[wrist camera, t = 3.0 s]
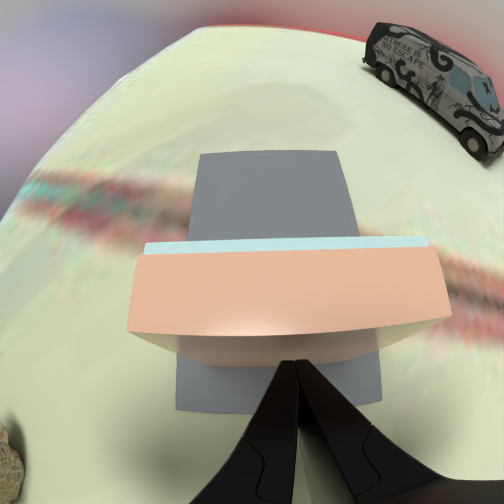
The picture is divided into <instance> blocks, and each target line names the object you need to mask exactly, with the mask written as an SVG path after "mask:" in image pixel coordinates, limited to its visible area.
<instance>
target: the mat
mask: <svg viewBox="0 0 504 504" xmlns="http://www.w3.org/2000/svg"><path fill="white" fill-rule="evenodd" d="M312 237H360V235H359V231H358V226H357V222H356V218H355V214H354V210H353V206H352V203H351V199H350V195H349V192H348V188H347V185H346V181H345V178H344V174H343V171H342V168H341V165H340V161H339V158H338V155H337V152H336V151H318V150H265V151H239V152H223V153H209V154H200V160H199V165H198V171H197V177H196V183H195V189H194V195H193V202H192V209H191V216H190V223H189V230H188V238H187V241H210V240H239V239H273V238H312ZM313 365H314V366H315V367H316V368H317V369H318V370H319V371H320V372H321V373H322V374H323V375H324V376H325V377H326V378H327V379H328V380H329V381H330V382H331V383H332V384H333V385H334V386H335V387H336V388H337V389H338V390H339V391H340V392H341V393H342V394H343V395H344V396H345V397H346V398H347V399H348V400H349V401H350V402H351V403H352V404H353V405H354V406H356V405H362V404H368V403H373V402H378V401H382V391H381V374H380V361H379V350H376V351H374V352H371V353H368V354H366V355H363V356H360V357H358V358H355V359H352V360H349V361H344V362H334V363H324V364H313ZM276 369H277V367H209V366H206V365H204V364H201V363H198V362H196V361H193V360H191V359H188V358H186V357H183V356H181V355H178V354H177V371H176V410H182V411H192V412H205V413H223V414H254V413H255V411H256V409H257V407H258V405H259V403H260V401H261V399H262V397H263V395H264V394H265V392H266V390H267V388H268V386H269V384H270V382H271V379H272V377H273V375H274V373H275V371H276Z"/></svg>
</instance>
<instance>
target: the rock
mask: <svg viewBox="0 0 504 504" xmlns="http://www.w3.org/2000/svg"><path fill="white" fill-rule="evenodd" d="M24 477H25V474H24V465H23V463H22V461H21V459H20V455H19V453H18V452H16V451H15V450H14V449H12V448H10V446H8V433H7V431H6V430H5V429H4V426H3V425H2V424H0V504H10V501H12V500H16V498H17V496H18V494H19V490H20V486H21V485H22V481H23V479H24Z"/></svg>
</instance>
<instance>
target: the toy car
mask: <svg viewBox="0 0 504 504" xmlns="http://www.w3.org/2000/svg"><path fill="white" fill-rule="evenodd" d="M362 60H363V63H365V62H366V63H367V64H368V65H369V66H371V67H372V68H377V69H376V78H378V79H379V80H380V81H382V82H383V83H384V84H386V85H387V86H389V87H391V88H395V87H396V86H397V84H398V85H400V86H401V87H403V88H404V89H406V90H407V91H409V92H410V93H412V94H413V95H415V96H416V97H417V98H419V99H420V100H421V101H423V102H424V103H426V104H427V105H428V106H429V107H431V108H432V109H433V110H435V111H436V112H437V113H438V114H440V115H441V116H442V117H443V118H444V119H446V120H447V121H448V122H449V123H450V124H452V125H453V126H454V127H455V128H456V129H457V130H458V131H460V132H461V131H463V130H465V131H464V132H463V133H462V134H461V138H460V144H461V145H462V147H463V148H464V149H465V150H466V151H467V152H468V153H469V154H470V155H471V156H472V157H473V158H475V159H476V160H481V159H483V158H484V157H485V155H486V153H487V150H488V155H487V158H488V159H489V160H490V161H492V160H493V159H495V158H496V157H498V156H499V155H500V154H502V153H503V152H504V110H503V109H501V107H500V106H499V103H498V100H497V96H496V93H495V89H494V86H493V82H492V79H491V78H490V76H488V75H487V74H486V73H485V72H484V71H483V70H481V69H480V68H479V67H478V66H477V65H476V64H474V63H473V62H472V61H471V60H469V59H468V58H466V57H465V56H463V55H462V54H460V53H459V52H457V51H455V50H454V49H452V48H450V47H448V46H447V45H445V44H444V43H442V42H440V41H438V40H436V39H434V38H433V37H430V36H429V35H426V34H425V33H422V32H420V31H418V30H416V29H414V28H411V27H407V26H401V25H397V24H391V23H382V22H378V23H376V25H375V27H374V28H373V30H372V32H371V34H370V36H369V38H368V40H367V42H366V50H365V58H362Z"/></svg>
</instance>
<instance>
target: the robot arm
mask: <svg viewBox="0 0 504 504" xmlns="http://www.w3.org/2000/svg"><path fill="white" fill-rule="evenodd" d="M297 435H298V438H299V443H300V448H301V453H302V458H303V463H304V468H305V473H306V477H307V482H308V487H309V492H310V497H311V502H312V504H504V480H456V479H451V478H447V477H444V476H442V475H440V474H438V473H436V472H435V471H433V470H431V469H430V468H428V467H427V466H425V465H424V464H422V463H421V462H419V461H418V460H416V459H415V458H414V457H412V456H411V455H409V454H408V453H406V452H405V451H404V450H402V449H401V448H400V447H398V446H397V445H396V444H394V443H393V442H392V441H391V440H390V439H388V438H387V437H386V436H385V435H384V434H383V433H382V432H381V431H379V430H378V429H377V428H376V427H375V426H374V425H373V424H372V425H371V422H370V421H369V420H368V419H367V418H366V417H365V416H364V415H363V414H362V413H361V412H360V411H359V410H358V409H357V408H356V407H355V406H354V405H353V404H352V403H351V402H350V401H349V400H348V399H347V398H346V397H345V396H344V395H343V394H342V393H341V392H340V391H339V390H338V389H337V388H336V387H335V386H334V385H333V384H332V383H331V382H330V381H329V380H328V379H327V378H326V377H325V376H324V375H323V374H322V373H321V372H320V371H319V370H318V369H317V368H316V367H315V366H314V365H313V364H312V363H311V362H310V361H309V360H308V359H297V360H295V361H294V360H282V361H280V363H279V365H278V367H277V369H276V371H275V373H274V375H273V377H272V379H271V382H270V384H269V386H268V388H267V390H266V392H265V394H264V395H263V397H262V399H261V401H260V403H259V405H258V407H257V409H256V411H255V413H254V415H253V417H252V418H251V420H250V422H249V424H248V426H247V428H246V430H245V431H244V433H243V435H242V436H243V437H241V438H240V440H239V442H238V443H237V445H236V447H235V449H234V450H233V452H232V453H231V455H230V456H229V458H228V459H227V461H226V462H225V463H224V465H223V466H222V467H221V469H220V470H219V471H218V472H217V474H216V475H215V476H214V477H213V478H212V479H211V480H210V482H209V483H208V484H207V485H206V486H205V487H204V488H203V489H202V490H201V492H200V493H199V494H198V495H197V496H196V497H195V498H194V499H193V500H192V501H191V502H190V503H189V504H292V496H293V486H294V475H295V463H296V450H297Z"/></svg>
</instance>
